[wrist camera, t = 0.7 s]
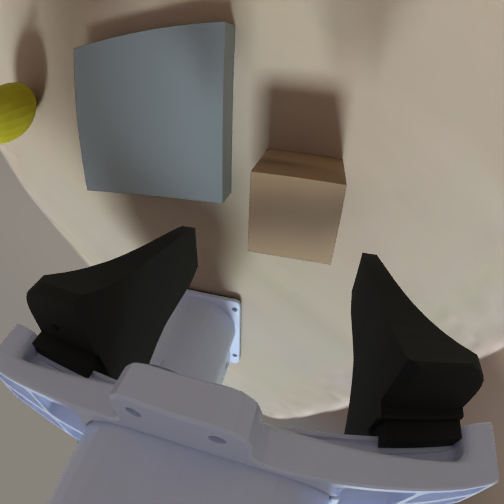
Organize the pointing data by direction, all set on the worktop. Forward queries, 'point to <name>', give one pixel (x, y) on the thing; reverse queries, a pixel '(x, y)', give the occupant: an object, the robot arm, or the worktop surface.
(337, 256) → the worktop surface
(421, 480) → the robot arm
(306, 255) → the walnut block
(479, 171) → the worktop surface
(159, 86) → the slate tile
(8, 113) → the lemon
